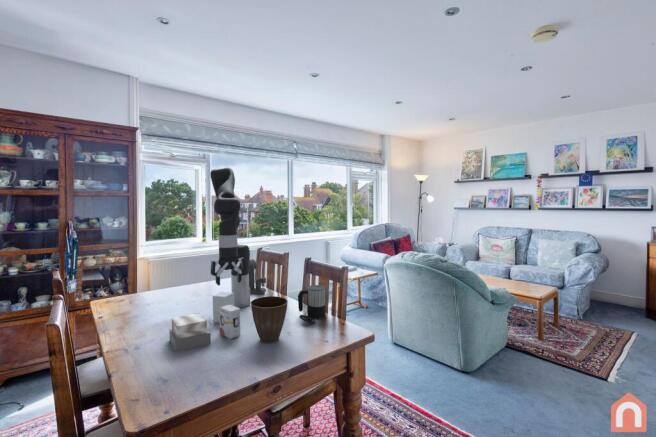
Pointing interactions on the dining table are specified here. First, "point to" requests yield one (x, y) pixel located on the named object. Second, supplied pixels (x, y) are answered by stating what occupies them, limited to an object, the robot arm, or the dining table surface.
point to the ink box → (230, 321)
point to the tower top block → (189, 325)
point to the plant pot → (269, 317)
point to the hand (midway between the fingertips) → (228, 283)
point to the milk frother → (313, 303)
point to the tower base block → (189, 341)
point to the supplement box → (221, 303)
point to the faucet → (252, 281)
